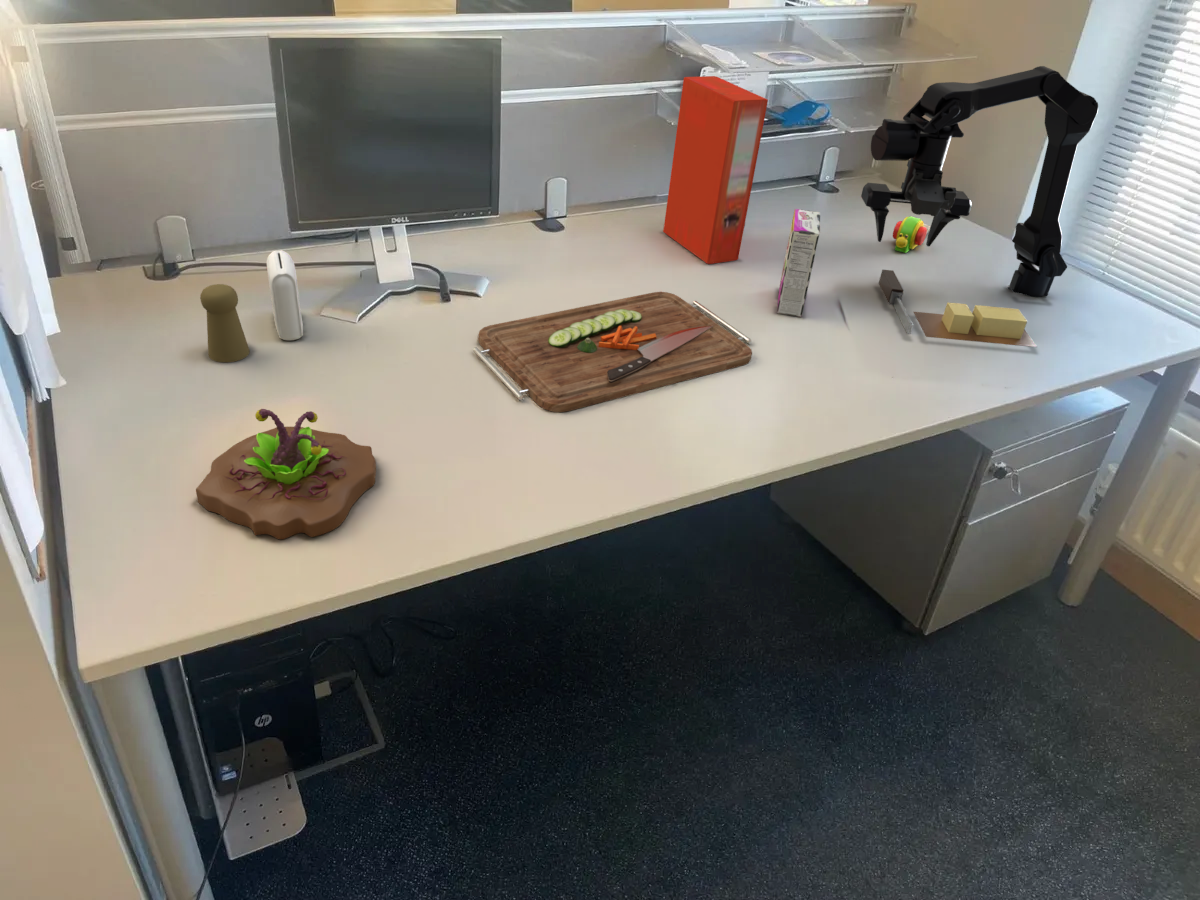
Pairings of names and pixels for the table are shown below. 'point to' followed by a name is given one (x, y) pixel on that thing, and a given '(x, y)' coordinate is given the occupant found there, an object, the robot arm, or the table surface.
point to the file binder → (713, 167)
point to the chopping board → (610, 350)
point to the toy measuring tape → (909, 233)
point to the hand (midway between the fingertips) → (903, 243)
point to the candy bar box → (798, 262)
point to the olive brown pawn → (223, 324)
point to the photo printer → (284, 295)
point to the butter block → (998, 322)
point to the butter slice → (957, 318)
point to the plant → (288, 479)
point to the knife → (895, 296)
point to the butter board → (937, 329)
